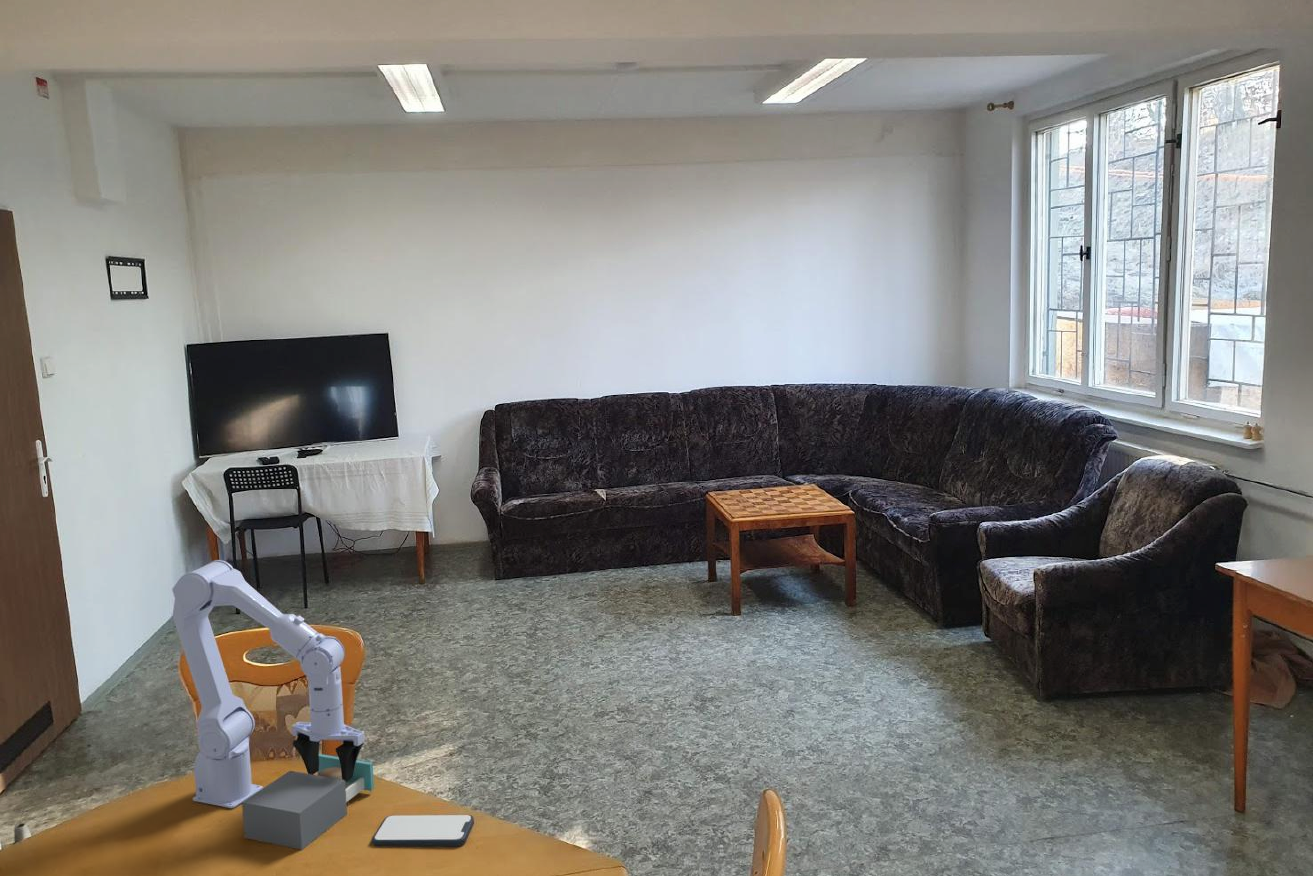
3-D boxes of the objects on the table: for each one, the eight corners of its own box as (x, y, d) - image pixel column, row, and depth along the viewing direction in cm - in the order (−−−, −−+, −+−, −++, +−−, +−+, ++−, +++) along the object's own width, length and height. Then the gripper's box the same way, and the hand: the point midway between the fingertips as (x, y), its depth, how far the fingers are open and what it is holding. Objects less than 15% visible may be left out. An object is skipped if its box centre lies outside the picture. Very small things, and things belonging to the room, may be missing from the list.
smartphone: (369, 850, 163) (463, 849, 162) (369, 841, 163) (463, 840, 162) (386, 822, 172) (475, 822, 171) (386, 814, 172) (475, 813, 171)
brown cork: (313, 794, 177) (312, 776, 177) (329, 783, 181) (328, 765, 181) (333, 798, 176) (332, 780, 175) (349, 787, 180) (348, 769, 179)
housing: (292, 804, 177) (289, 770, 176) (347, 814, 173) (344, 780, 173) (244, 837, 166) (241, 802, 165) (302, 849, 162) (299, 813, 161)
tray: (320, 779, 185) (319, 753, 184) (374, 789, 181) (372, 762, 180) (278, 809, 174) (276, 782, 173) (333, 820, 170) (332, 792, 169)
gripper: (278, 709, 175) (283, 780, 177) (345, 719, 170) (350, 792, 172) (304, 694, 182) (309, 763, 183) (370, 704, 177) (373, 774, 179)
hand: (330, 776), depth 178 cm, fingers open, 7 cm apart
